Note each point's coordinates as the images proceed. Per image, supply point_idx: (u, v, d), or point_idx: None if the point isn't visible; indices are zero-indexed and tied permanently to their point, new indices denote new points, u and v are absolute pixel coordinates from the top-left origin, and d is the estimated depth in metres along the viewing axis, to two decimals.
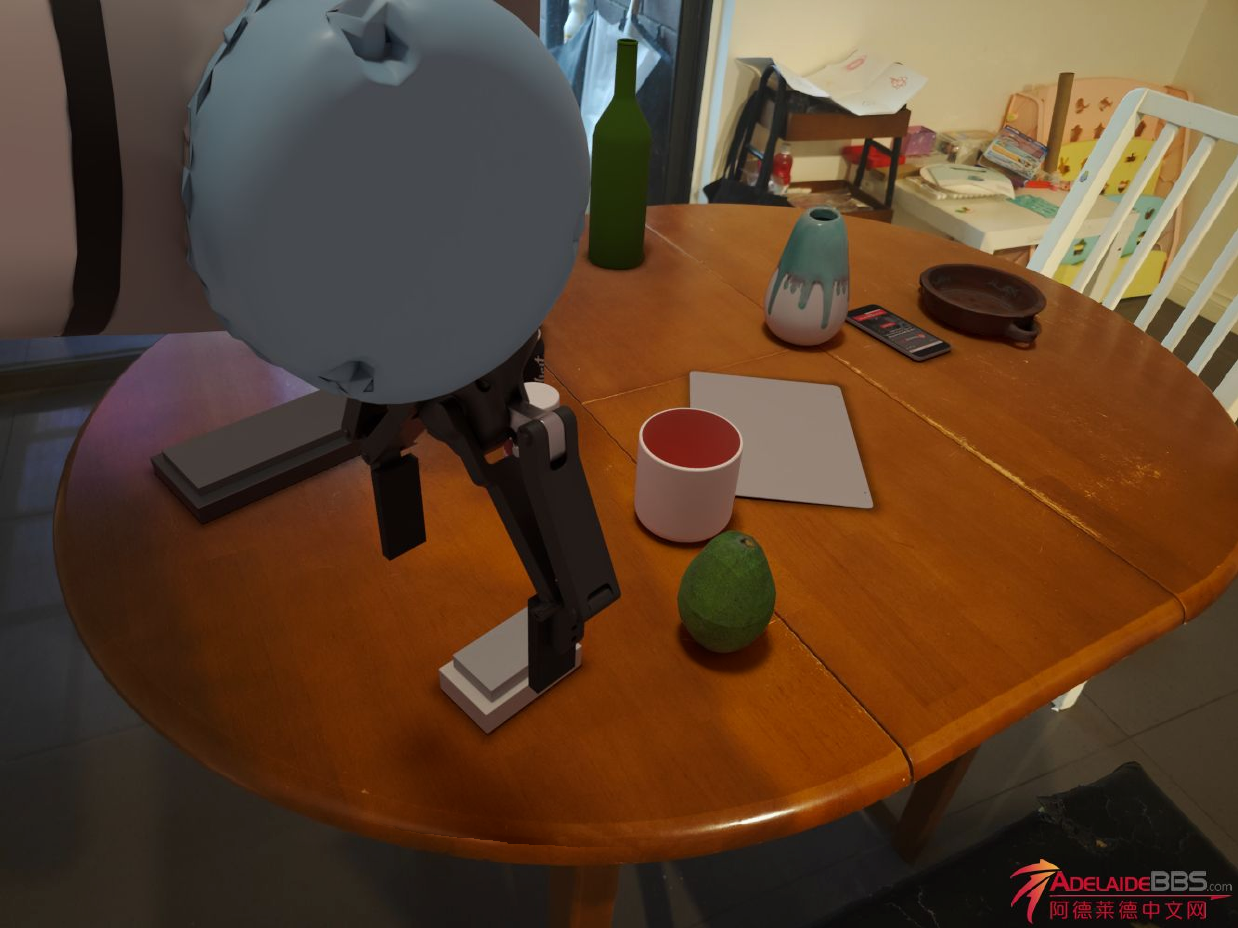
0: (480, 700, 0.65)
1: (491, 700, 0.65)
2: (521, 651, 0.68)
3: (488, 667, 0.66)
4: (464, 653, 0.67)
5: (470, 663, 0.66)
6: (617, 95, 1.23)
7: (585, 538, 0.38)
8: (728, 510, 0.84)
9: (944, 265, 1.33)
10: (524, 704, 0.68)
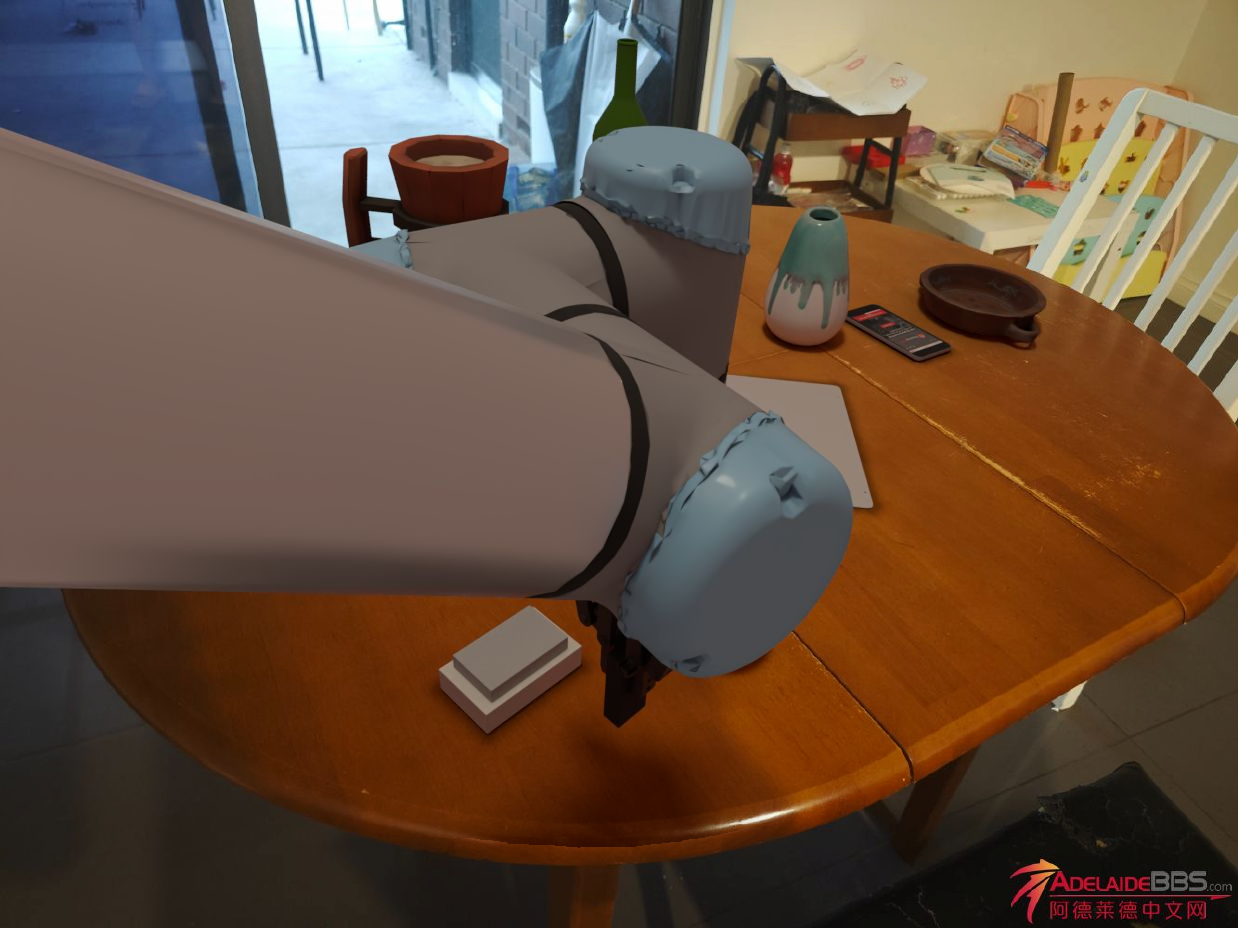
0: (480, 700, 0.65)
1: (491, 700, 0.65)
2: (521, 651, 0.68)
3: (488, 667, 0.66)
4: (464, 653, 0.67)
5: (470, 663, 0.66)
6: (617, 95, 1.23)
7: None
8: None
9: (944, 265, 1.33)
10: (524, 704, 0.68)
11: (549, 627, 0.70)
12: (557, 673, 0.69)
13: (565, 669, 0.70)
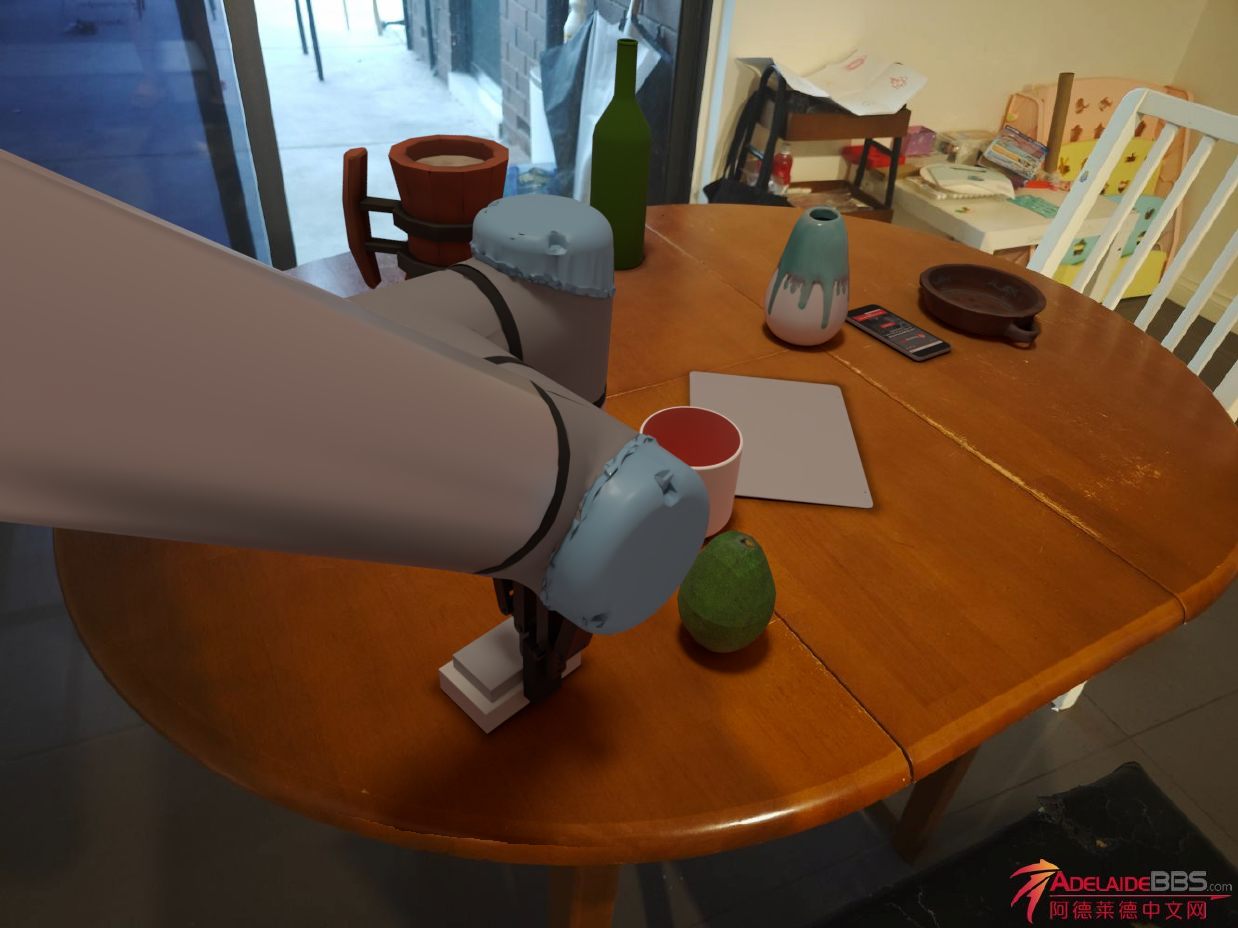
0: (480, 699, 0.65)
1: (491, 700, 0.65)
2: None
3: (488, 667, 0.66)
4: (464, 653, 0.67)
5: (470, 663, 0.66)
6: (617, 95, 1.23)
7: None
8: (729, 508, 0.84)
9: (944, 265, 1.33)
10: (524, 704, 0.68)
11: None
12: None
13: None
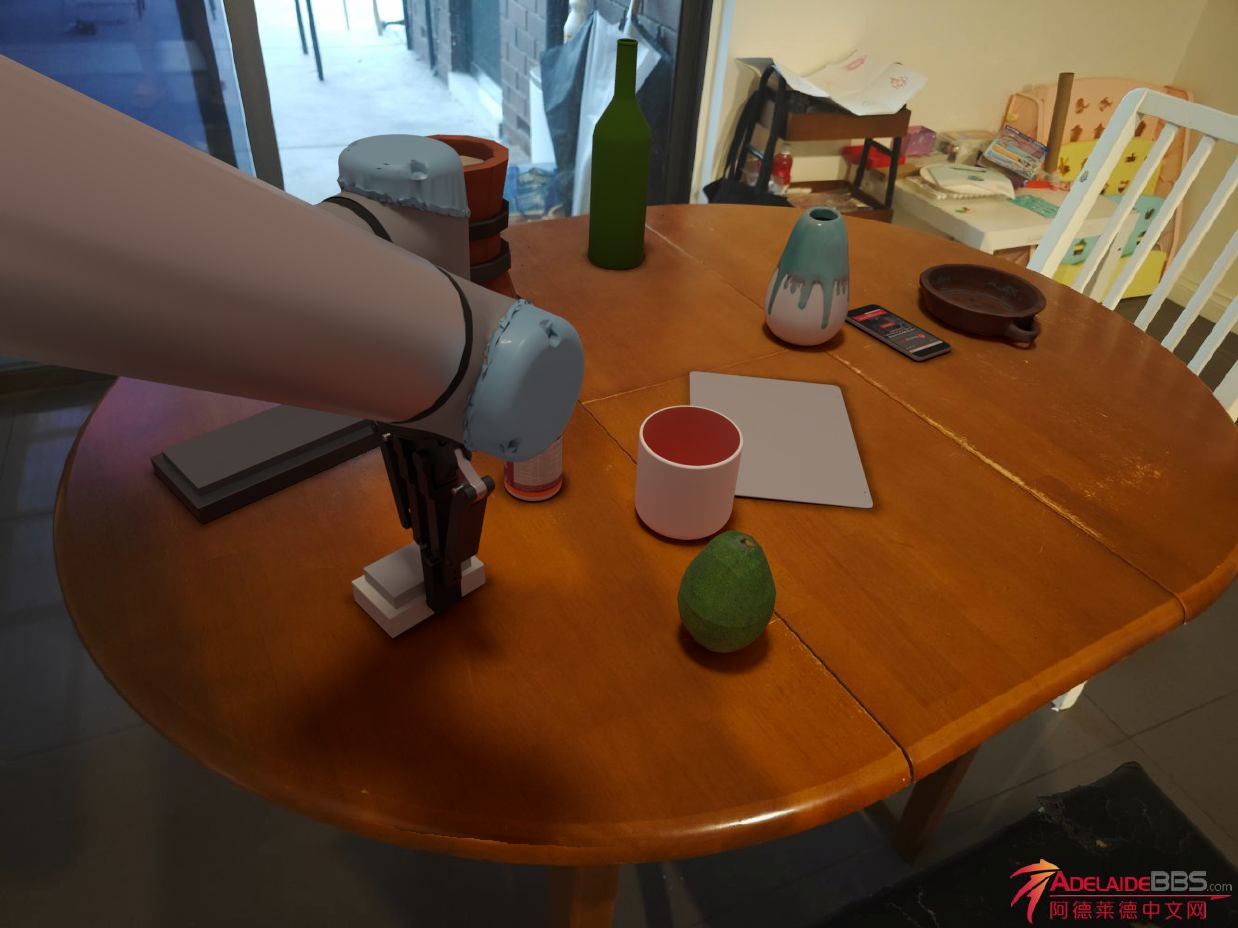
0: (386, 607, 0.72)
1: (395, 607, 0.72)
2: None
3: (394, 578, 0.73)
4: (374, 567, 0.74)
5: (378, 575, 0.73)
6: (617, 95, 1.23)
7: (471, 533, 0.66)
8: (729, 506, 0.84)
9: (944, 265, 1.33)
10: (429, 614, 0.75)
11: None
12: (461, 588, 0.76)
13: (469, 585, 0.77)
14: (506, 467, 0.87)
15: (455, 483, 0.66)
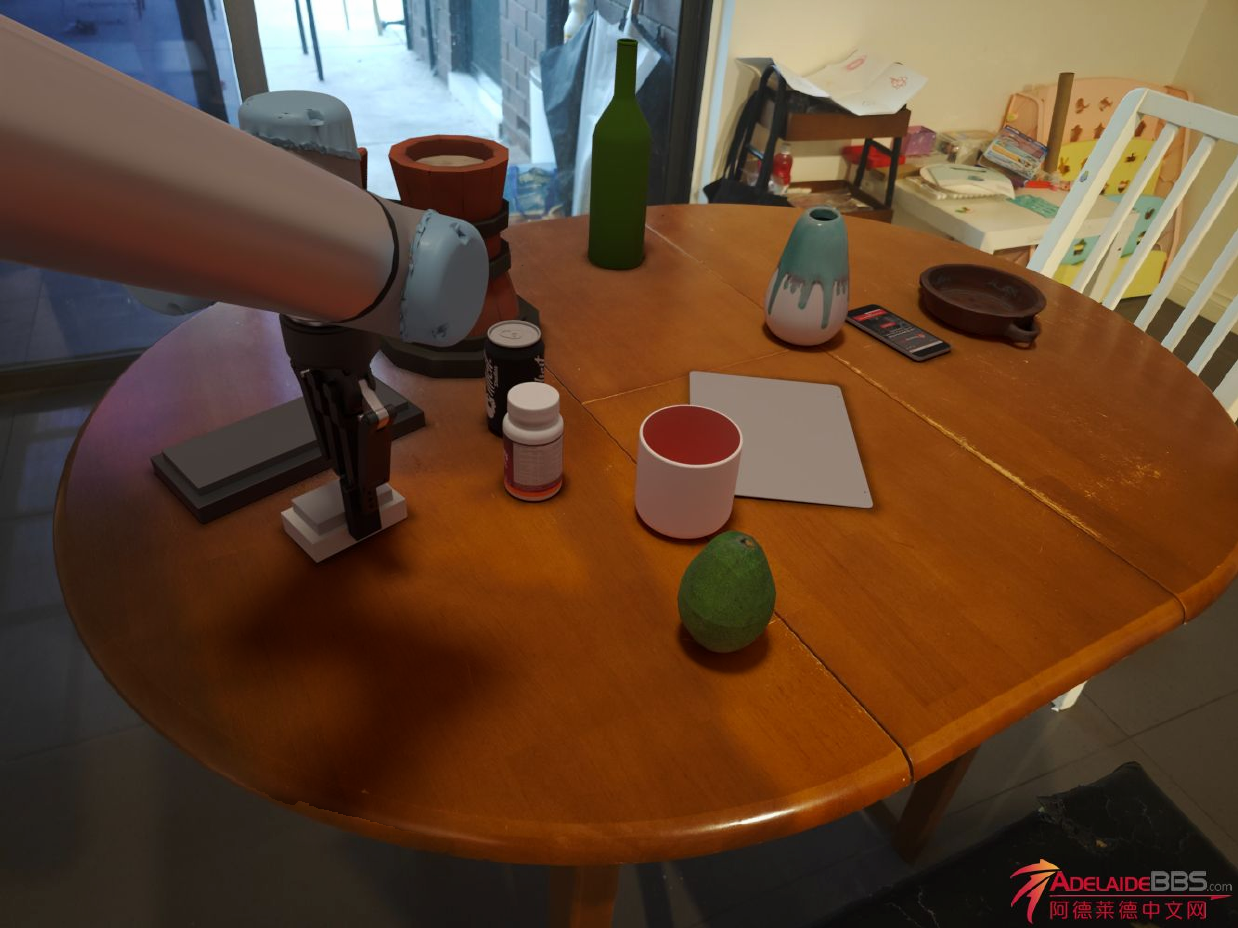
0: (310, 533, 0.79)
1: (319, 534, 0.79)
2: None
3: (319, 508, 0.80)
4: (301, 498, 0.81)
5: (305, 505, 0.80)
6: (617, 95, 1.23)
7: (380, 460, 0.72)
8: (729, 505, 0.84)
9: (944, 265, 1.33)
10: (352, 542, 0.82)
11: None
12: (383, 519, 0.83)
13: (391, 518, 0.84)
14: (506, 467, 0.87)
15: None
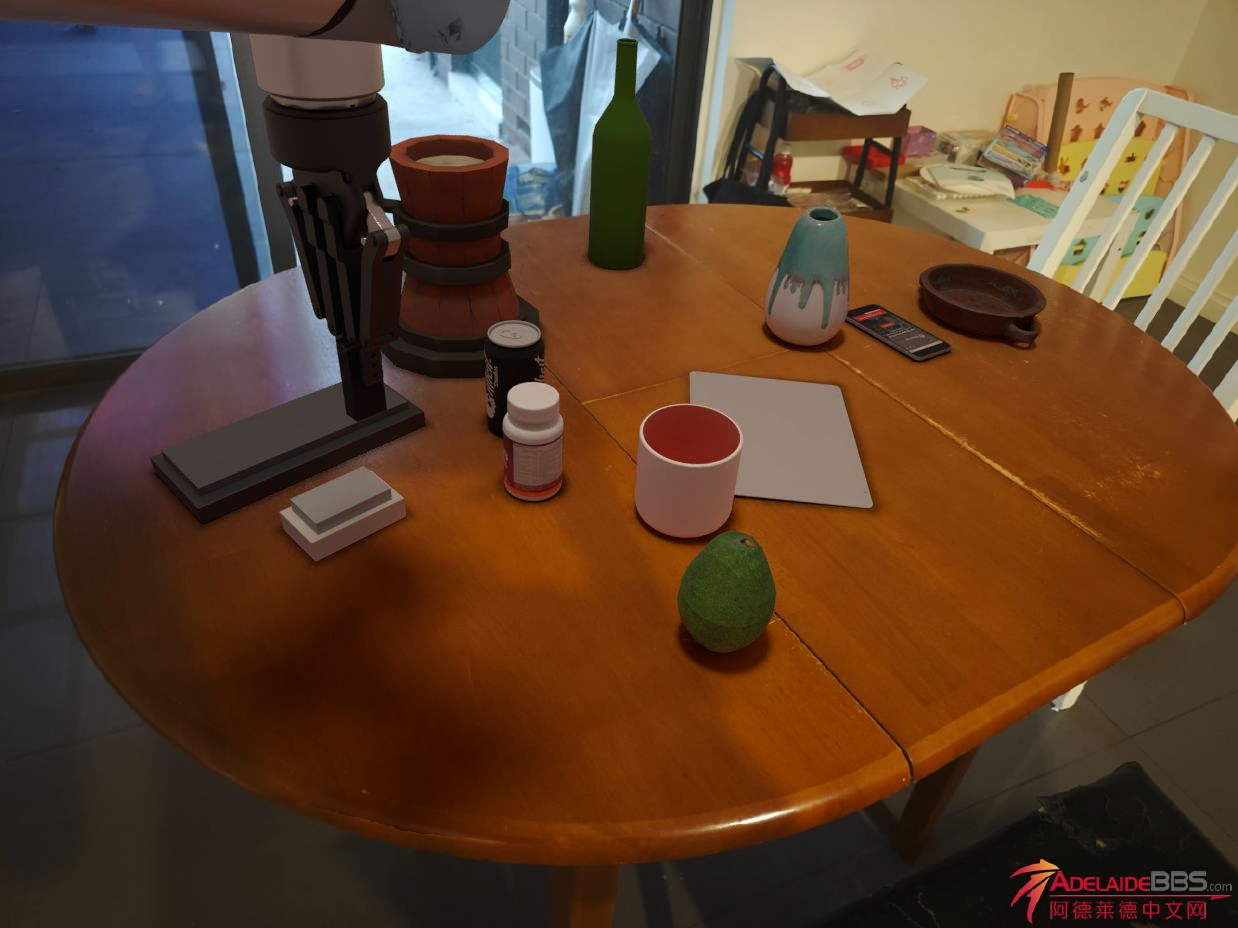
0: (309, 533, 0.79)
1: (317, 533, 0.79)
2: (348, 497, 0.81)
3: (318, 507, 0.80)
4: (300, 498, 0.81)
5: (303, 504, 0.80)
6: (617, 95, 1.23)
7: (388, 304, 0.58)
8: (729, 504, 0.84)
9: (944, 265, 1.33)
10: (351, 541, 0.82)
11: (376, 481, 0.84)
12: (382, 519, 0.83)
13: (390, 517, 0.84)
14: (506, 467, 0.87)
15: None
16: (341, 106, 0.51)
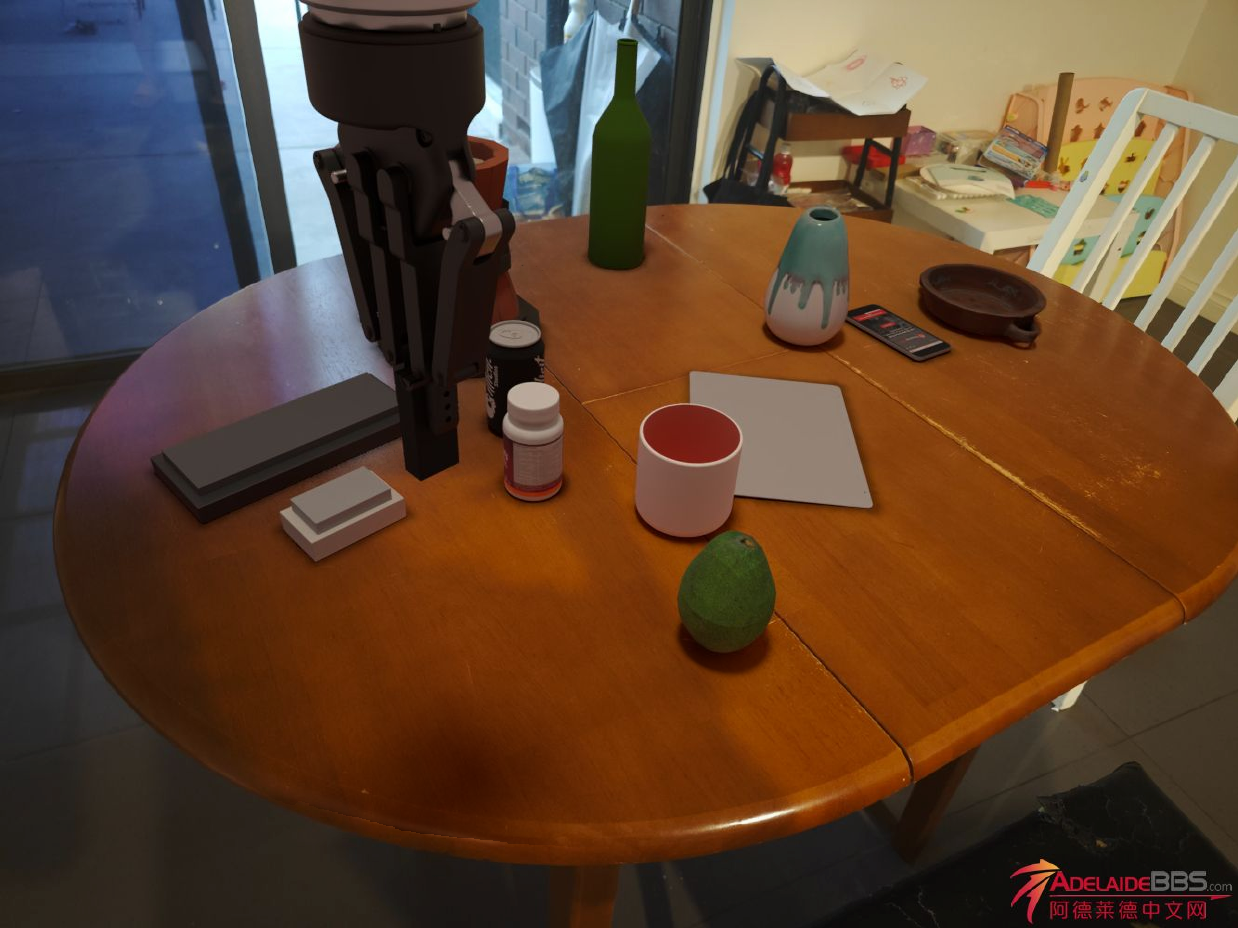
0: (309, 533, 0.79)
1: (317, 533, 0.79)
2: (348, 497, 0.81)
3: (318, 507, 0.80)
4: (300, 498, 0.81)
5: (303, 504, 0.80)
6: (617, 95, 1.23)
7: (475, 325, 0.41)
8: (729, 503, 0.85)
9: (944, 265, 1.33)
10: (351, 541, 0.82)
11: (376, 481, 0.84)
12: (382, 519, 0.83)
13: (390, 517, 0.84)
14: (506, 467, 0.87)
15: None
16: (420, 25, 0.33)
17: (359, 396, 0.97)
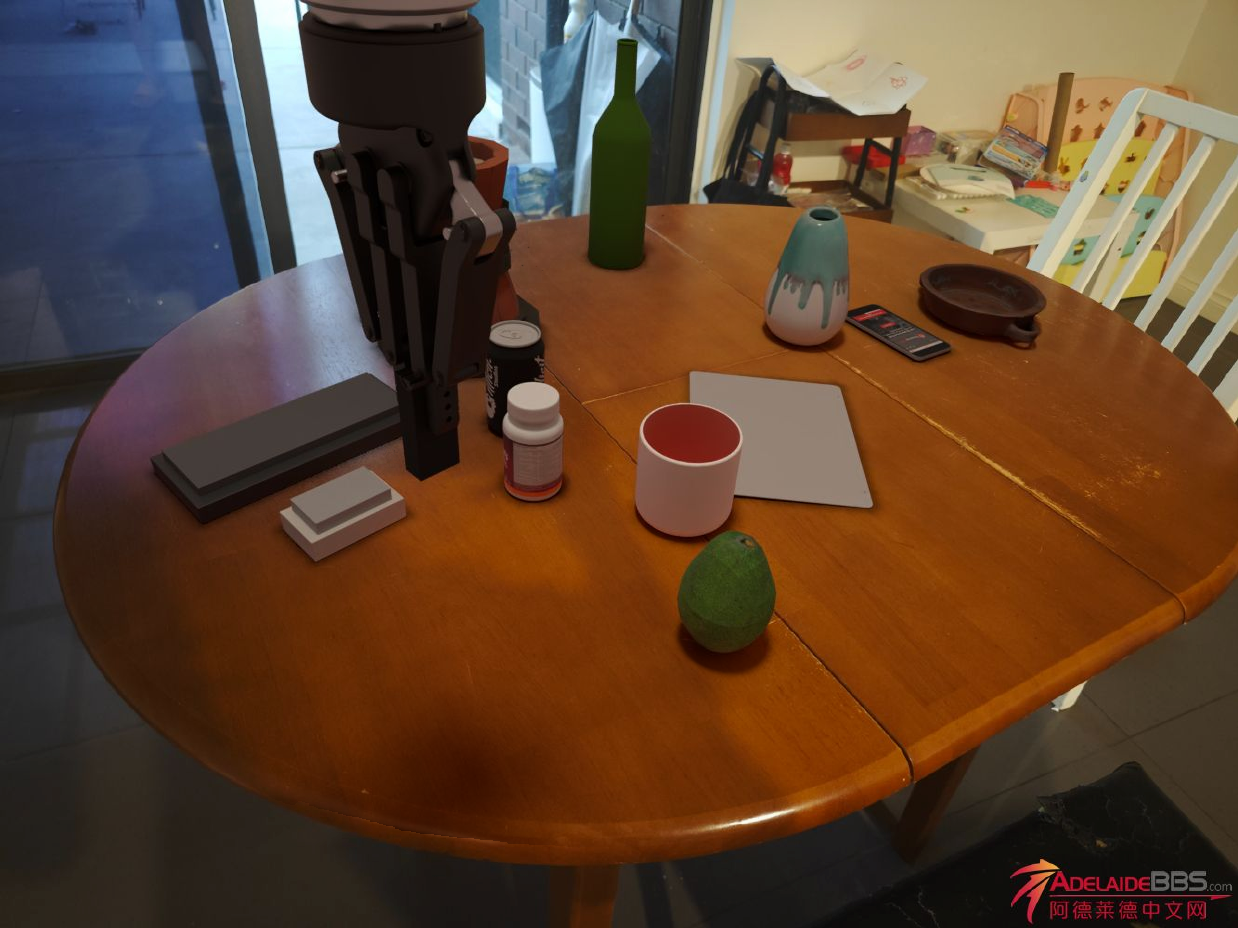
0: (309, 533, 0.79)
1: (317, 533, 0.79)
2: (348, 497, 0.81)
3: (318, 507, 0.80)
4: (300, 498, 0.81)
5: (303, 504, 0.80)
6: (617, 95, 1.23)
7: (475, 325, 0.41)
8: (729, 503, 0.85)
9: (944, 265, 1.33)
10: (351, 541, 0.82)
11: (376, 481, 0.84)
12: (382, 519, 0.83)
13: (390, 517, 0.84)
14: (506, 467, 0.87)
15: None
16: (420, 25, 0.33)
17: (359, 396, 0.97)
